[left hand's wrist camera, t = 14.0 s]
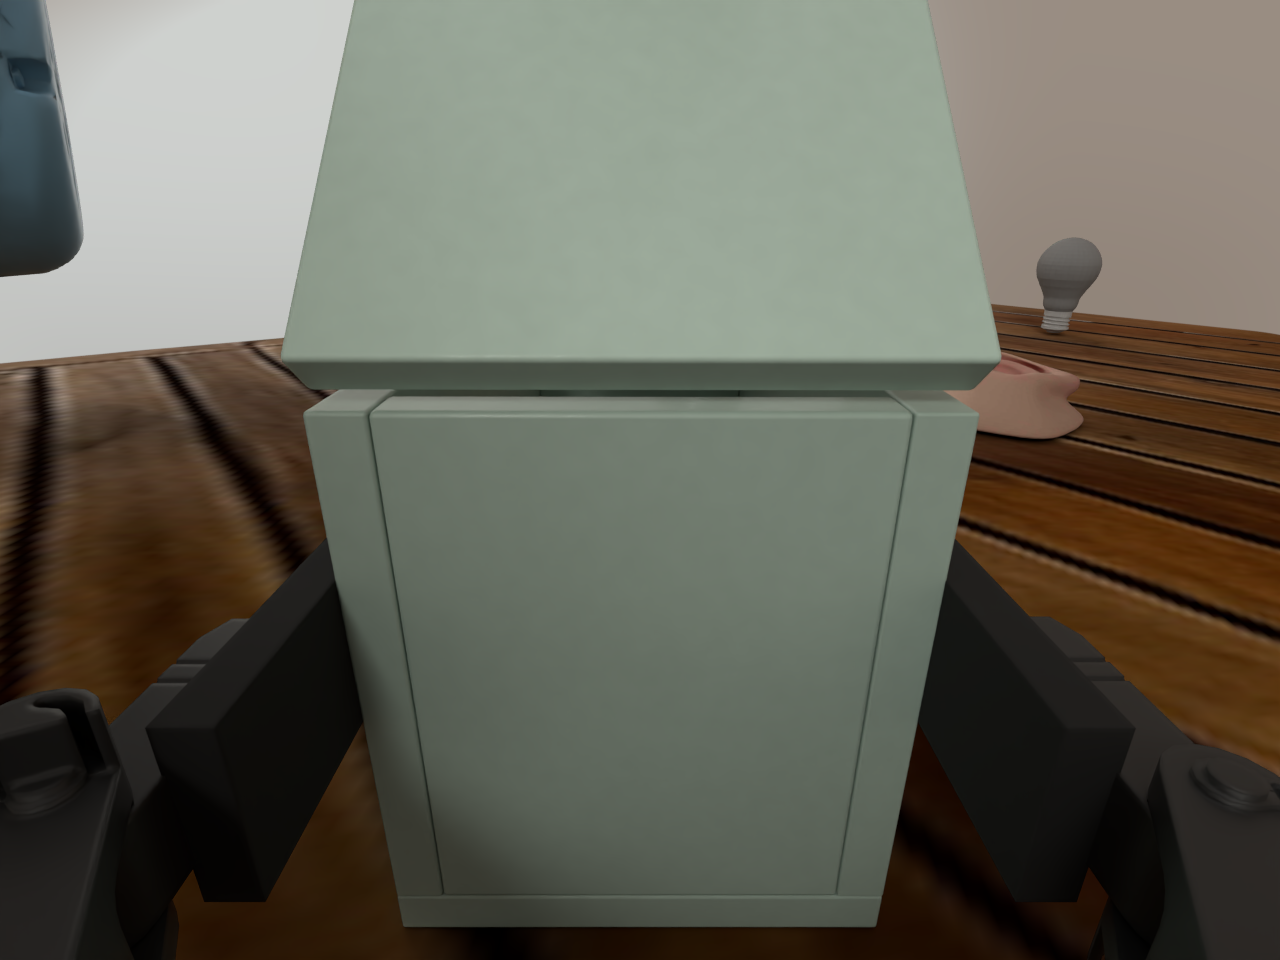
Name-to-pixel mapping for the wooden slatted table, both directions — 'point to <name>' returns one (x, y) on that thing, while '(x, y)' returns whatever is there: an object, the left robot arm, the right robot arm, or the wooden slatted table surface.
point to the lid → (641, 202)
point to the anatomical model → (1023, 400)
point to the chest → (640, 642)
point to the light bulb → (1066, 279)
